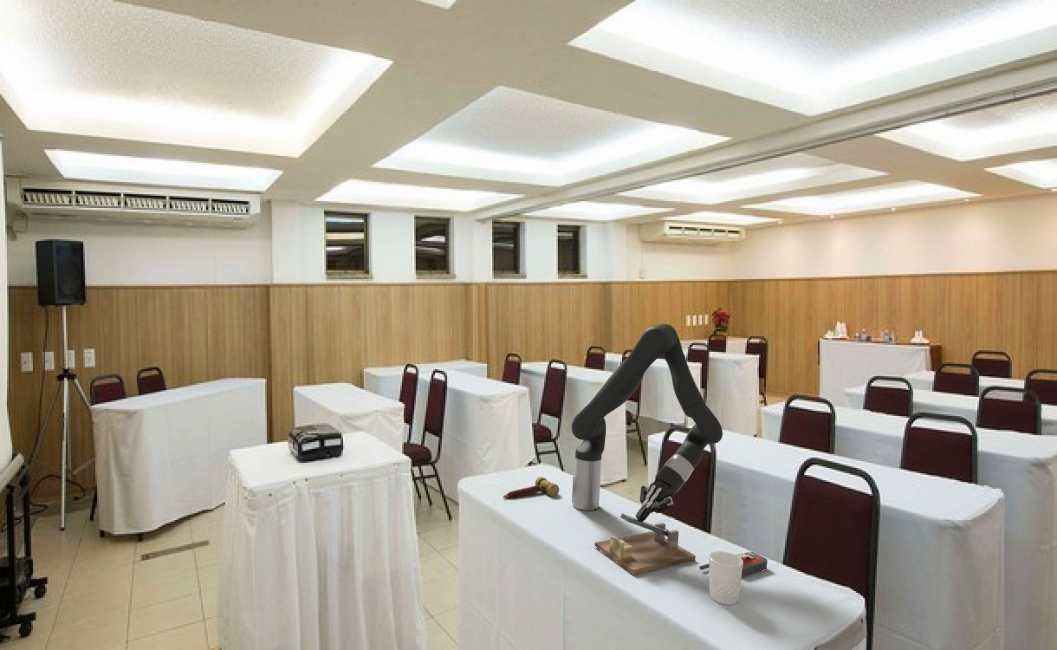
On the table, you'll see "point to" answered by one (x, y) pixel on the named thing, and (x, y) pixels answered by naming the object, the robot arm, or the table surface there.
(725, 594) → the white cup
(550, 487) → the gavel
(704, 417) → the robot arm
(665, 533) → the strap
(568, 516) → the table surface
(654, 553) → the latch board
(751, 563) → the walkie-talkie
